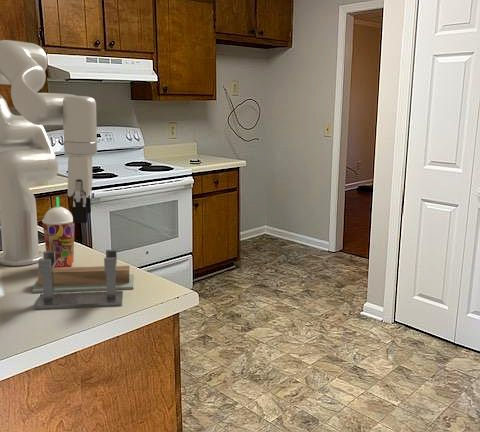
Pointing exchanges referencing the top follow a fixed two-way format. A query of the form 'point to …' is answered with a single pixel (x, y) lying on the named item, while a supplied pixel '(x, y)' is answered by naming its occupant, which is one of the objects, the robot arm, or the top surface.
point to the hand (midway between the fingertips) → (82, 217)
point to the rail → (85, 275)
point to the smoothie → (59, 235)
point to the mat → (85, 287)
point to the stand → (77, 299)
